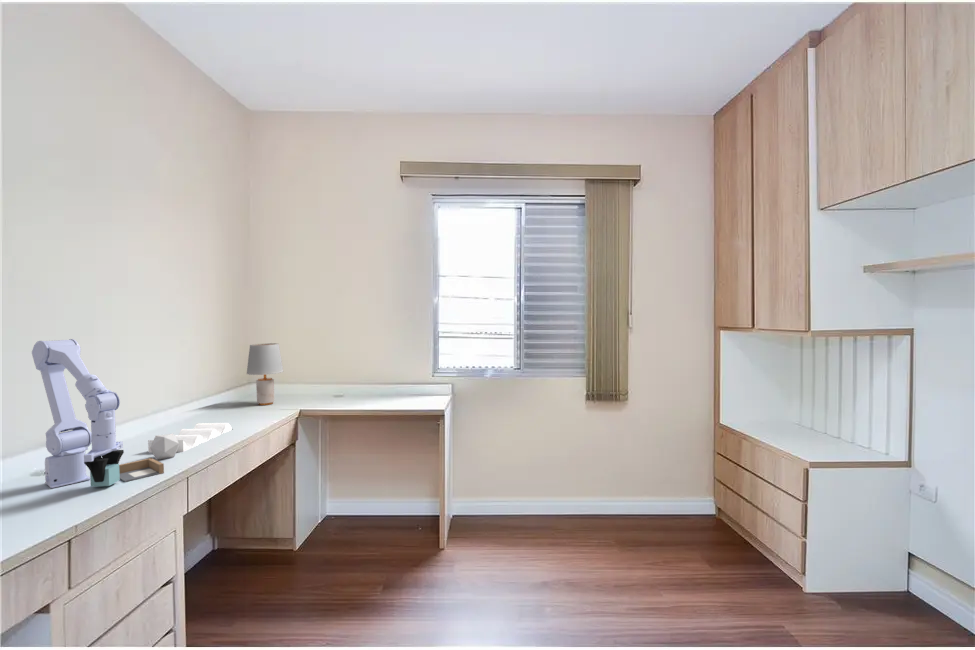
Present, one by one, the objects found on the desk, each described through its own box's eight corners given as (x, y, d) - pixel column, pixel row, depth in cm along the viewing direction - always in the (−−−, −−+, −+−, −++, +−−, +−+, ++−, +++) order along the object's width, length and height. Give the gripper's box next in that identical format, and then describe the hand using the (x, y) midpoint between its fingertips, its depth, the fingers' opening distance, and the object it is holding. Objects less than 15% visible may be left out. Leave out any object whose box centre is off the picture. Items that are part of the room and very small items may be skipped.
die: (181, 454, 181) (163, 433, 180) (188, 445, 176) (170, 424, 175) (158, 468, 174) (140, 447, 173) (166, 460, 169) (147, 438, 168)
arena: (124, 482, 149) (124, 472, 149) (113, 475, 156) (113, 466, 156) (163, 472, 157) (163, 463, 157) (151, 466, 164) (151, 457, 164)
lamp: (290, 401, 284) (289, 343, 283) (271, 407, 266) (269, 345, 265) (261, 400, 288) (259, 343, 287) (240, 406, 269) (238, 345, 268)
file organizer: (233, 430, 217) (233, 419, 217) (183, 453, 182) (182, 439, 182) (204, 431, 217) (203, 419, 217) (148, 454, 182) (148, 440, 182)
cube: (109, 485, 144) (108, 469, 144) (90, 486, 143) (90, 469, 143) (119, 480, 149) (119, 463, 149) (101, 480, 148) (101, 464, 148)
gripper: (102, 439, 139) (103, 486, 139) (132, 427, 153) (134, 469, 154) (75, 440, 138) (76, 487, 138) (108, 428, 152) (109, 471, 153)
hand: (105, 478), depth 146 cm, fingers closed on cube, 5 cm apart
